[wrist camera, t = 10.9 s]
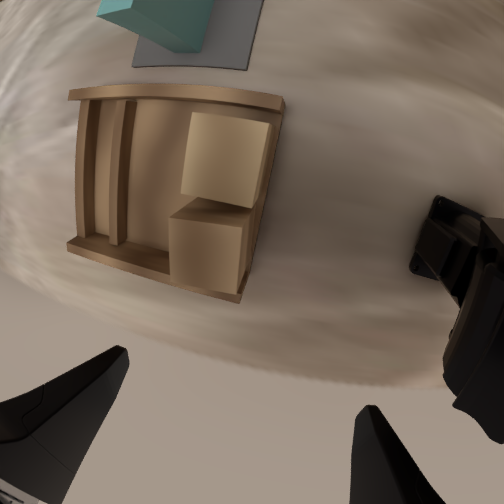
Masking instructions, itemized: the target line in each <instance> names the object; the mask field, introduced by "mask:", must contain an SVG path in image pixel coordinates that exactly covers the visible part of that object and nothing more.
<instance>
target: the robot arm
mask: <svg viewBox="0 0 504 504" xmlns="http://www.w3.org/2000/svg"><path fill="white" fill-rule="evenodd" d="M440 200H441V201H442V203H441V205H439V201H440ZM415 249H416V251H415V253H414V256H413V258H412V261H411V263H410V266H409V269H410V271H411V272H412V273H413V274H416V275H420V276H423V277H427V278H431V279H434V280H438V281H440V282H441V283H442V285H443V286H444V287H445V289H446V290H447V291H448V293H449V294H450V295H451V297H452V298H453V299H454V301H455V302H456V304H457V305H458V306H459V308H460V311H459V314H458V316H457V319H456V322H455V325H454V327H453V329H452V330H451V331H450V334H449V341H448V344H447V346H446V348H445V352H444V355H443V367H444V373H443V378H444V380H445V382H446V384H447V386H448V387H449V389H450V390H451V391H452V392H453V394H454V395H455V396H457V398H456V399H455V401H454V403H453V404H452V406H453V407H454V408H456V409H458V410H461V411H463V412H465V413H467V414H468V415H470V416H471V417H472V418H474V419H475V420H476V421H477V422H478V424H479V425H480V426H481V427H482V429H483V430H484V431H485V433H486V434H487V436H488V437H489V438H490V439H491V440H493V441H495V442H497V443H499V444H504V219H503V218H488V217H484V216H482V215H480V214H478V213H476V212H474V211H472V210H470V209H468V208H466V207H464V206H462V205H460V204H458V203H456V202H454V201H452V200H449V199H447V198H445V197H443V196H437V197H435V199H434V202H433V205H432V208H431V211H430V214H429V217H428V219H427V220H426V222H425V225H424V227H423V230H422V233H421V235H420V238H419V241H418V243H417V246H416V248H415ZM415 266H417V267H416V268H415V269H414V267H415ZM128 368H129V357H128V352H127V349H126V348H124V347H121V346H119V345H116V346H114V347H112V348H110V349H108V350H107V351H105V352H103V353H101V354H99V355H97V356H96V357H94V358H92V359H90V360H88V361H86V362H84V363H83V364H81V365H79V366H77V367H75V368H73V369H71V370H70V371H68V372H66V373H64V374H62V375H60V376H58V377H56V378H54V379H53V380H51V381H49V382H47V383H45V385H44V384H43V385H41V386H39V387H37V388H35V389H33V390H31V391H29V392H27V393H24V394H22V395H19V396H17V397H15V398H12V399H9V400H6V401H3V402H0V504H37V503H38V501H39V500H41V501H43V502H46V503H48V504H62V502H63V500H64V498H65V496H66V493H67V491H68V489H69V487H70V485H71V483H72V481H73V479H74V477H75V474H76V473H77V471H78V469H79V467H80V465H81V462H82V461H83V459H84V456H85V455H86V453H87V451H88V449H89V447H90V445H91V443H92V441H93V439H94V437H95V436H96V434H97V432H98V430H99V428H100V426H101V425H102V422H103V421H104V419H105V417H106V415H107V414H108V412H109V410H110V408H111V406H112V405H113V403H114V401H115V399H116V397H117V394H118V392H119V389H120V387H121V385H122V382H123V380H124V377H125V375H126V373H127V370H128ZM350 486H351V487H350V503H349V504H446V503H445V502H444V501H443V500H442V498H441V497H440V496H439V495H438V494H437V493H436V491H435V490H434V489H433V487H432V486H431V485H430V484H429V482H428V481H427V479H426V478H425V476H424V475H423V473H422V472H421V471H420V469H419V467H418V466H417V464H416V463H415V461H414V460H413V458H412V457H411V455H410V454H409V452H408V451H407V449H406V448H405V446H404V445H403V443H402V442H401V440H400V439H399V438H398V436H397V434H396V433H395V432H394V430H393V429H392V427H391V426H390V424H389V423H388V421H387V420H386V418H385V417H384V415H383V414H382V413H381V411H380V409H379V408H378V407H377V406H376V405H366V406H365V407H364V408H363V409H362V410H361V411H360V413H359V414H358V415H357V416H356V419H355V427H354V436H353V445H352V454H351V485H350Z"/></svg>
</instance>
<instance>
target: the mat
mask: <svg viewBox="0 0 504 504" xmlns="http://www.w3.org/2000/svg"><path fill="white" fill-rule="evenodd" d="M263 1H264V0H214V3H213V7H212V10H211V13H210V17H209V20H208V24H207V28H206V31H205V35H204V39H203V43H202V47H201V51H200V53H173V52H172V51H170V50H168V49H166V48H164V47H162V46H160V45H159V44H157V43H155V42H153V41H151V40H149V39H147V38H145V37H143V36H141V35H139V38H138V42H137V46H136V50H135V54H134V58H133V62H132V67H134V68H135V67H155V66H191V67H212V68H225V69H235V70H244V71H247V67H248V63H249V58H250V54H251V50H252V45H253V41H254V37H255V33H256V28H257V24H258V20H259V16H260V12H261V8H262V4H263Z"/></svg>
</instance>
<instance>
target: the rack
mask: <svg viewBox="0 0 504 504" xmlns="http://www.w3.org/2000/svg"><path fill="white" fill-rule="evenodd" d="M68 100H81V104H80V112H79V120H78V130H77V142H76V161H75V206H76V225H77V236H76V237H75V238H73V239H72V240H70V241H68V242H67V251H68V252H71V253H74V254H76V255H79V256H82V257H85V258H88V259H91V260H93V261H96V262H99V263H102V264H105V265H108V266H111V267H114V268H117V269H120V270H123V271H126V272H129V273H133V274H136V275H139V276H142V277H145V278H148V279H152V280H155V281H158V282H162V283H165V284H168V285H172V286H175V287H179V288H182V289H186V290H189V291H193V292H196V293H200V294H204V295H207V296H211V297H215V298H218V299H222V300H226V301H230V302H234V303H238V304H239V303H240V300H241V297H242V294H243V291H244V288H245V285H246V282H247V279H248V276H249V273H250V268H251V263H252V259H253V254H254V249H255V245H256V240H257V235H258V231H259V226H260V221H261V217H262V212H263V207H264V203H265V198H266V193H267V189H268V184H269V179H270V175H271V170H272V165H273V161H274V156H275V151H276V146H277V142H278V137H279V132H280V128H281V123H282V118H283V113H284V109H285V102H284V99H283V96H278V95H273V94H267V93H261V92H255V91H248V90H241V89H233V88H225V87H215V86H203V85H187V84H124V85H109V86H98V87H89V88H81V89H73V90H69V97H68ZM192 112H196V113H205V114H214V115H221V116H229V117H235V118H242V119H248V120H254V121H259V122H264V123H269V124H271V125H273V126H275V128H274V133H273V138H272V143H271V148H270V152H269V157H268V162H267V167H266V172H265V176H264V181H263V186H262V191H261V194H260V195H259V197H258V199H257V200H256V202H255V203H256V209H255V218H254V227H253V236H252V245H251V254H250V259H249V261H248V264H247V267H246V269H245V272H244V275H243V278H242V280H241V283H240V286H239V288H238V291H237V294H236V295H235V294H229V293H224V292H219V291H213V290H208V289H203V288H198V287H193V286H188V285H183V284H178V283H173V282H170V261H169V222H168V218H169V217H170V216H171V215H173V214H174V213H176V212H177V211H178V210H180V209H181V208H183V207H184V206H185V205H187V204H188V203H190V202H191V201H193V200H194V199H196V198H197V197H196V196H191V195H186V194H181V185H182V177H183V169H184V162H185V154H186V148H187V141H188V135H189V128H190V122H191V117H192Z"/></svg>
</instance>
